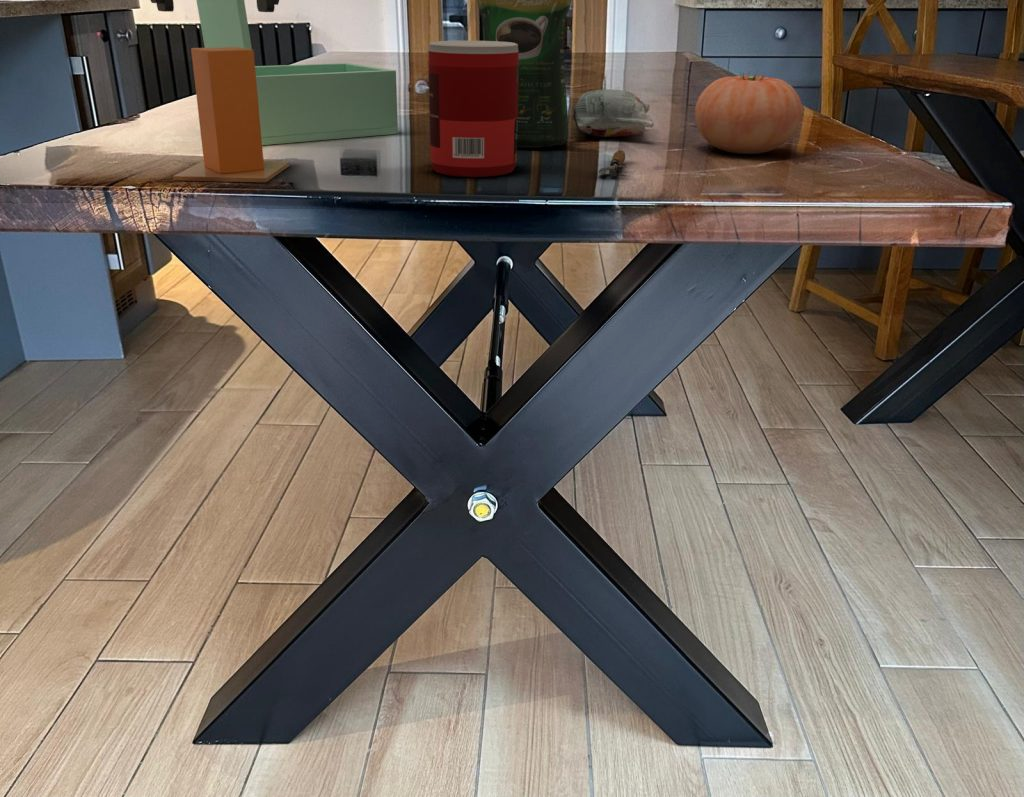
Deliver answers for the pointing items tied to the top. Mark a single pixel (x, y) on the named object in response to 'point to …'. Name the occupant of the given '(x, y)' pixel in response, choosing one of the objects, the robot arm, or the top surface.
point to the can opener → (615, 163)
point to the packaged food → (611, 113)
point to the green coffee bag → (534, 64)
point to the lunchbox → (325, 102)
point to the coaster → (206, 174)
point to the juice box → (228, 109)
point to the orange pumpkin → (748, 113)
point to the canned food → (473, 107)
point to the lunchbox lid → (224, 23)
